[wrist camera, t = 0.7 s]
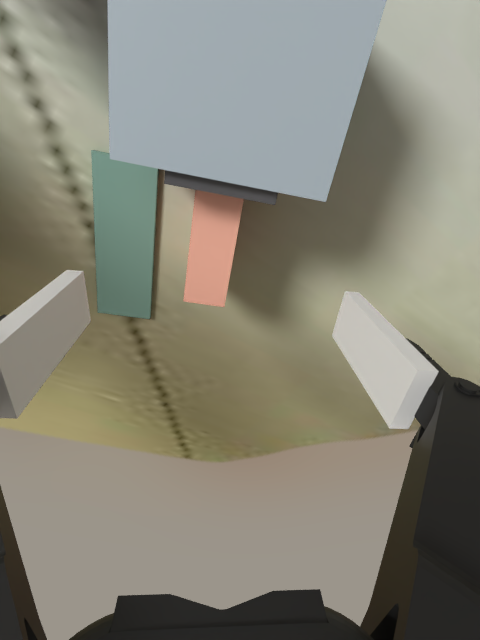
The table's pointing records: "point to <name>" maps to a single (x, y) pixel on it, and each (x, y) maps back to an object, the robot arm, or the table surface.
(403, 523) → the robot arm
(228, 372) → the table surface
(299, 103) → the pale blue cube
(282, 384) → the table surface
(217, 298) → the long salmon pink block
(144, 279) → the mat
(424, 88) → the table surface
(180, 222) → the table surface
